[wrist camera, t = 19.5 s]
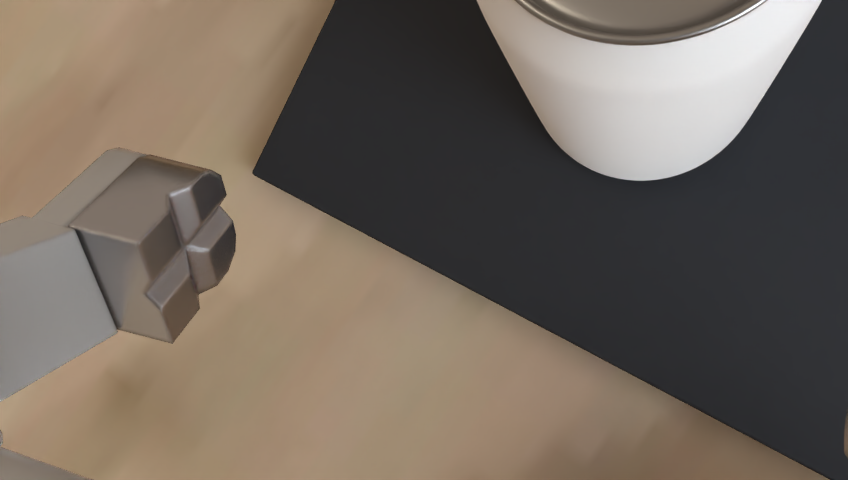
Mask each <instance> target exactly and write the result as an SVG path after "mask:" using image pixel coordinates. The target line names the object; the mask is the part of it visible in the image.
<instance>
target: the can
mask: <svg viewBox="0 0 848 480" xmlns="http://www.w3.org/2000/svg"><path fill="white" fill-rule="evenodd" d="M821 1H822V0H477V2H478V5H479V7H480V9H481V11H482V14H483V16H484V18H485V20H486V22H487V24H488V26H489V28H490V29H491V31H492V33H493V35H494V37H495V39H496V41H497V43H498V45H499V46H500V48H501V50H502V52H503V54H504V56H505V58H506V59H507V61H508V63H509V65H510V67H511V69H512V71H513V72H514V74H515V76H516V78H517V80H518V81H519V83H520V85H521V87H522V89H523V91H524V92H525V94H526V96H527V98H528V99H529V101H530V103H531V105H532V107H533V108H534V110H535V112H536V114H537V115H538V117H539V119H540V120H541V122H542V124H543V125H544V127H545V129H546V130H547V132H548V133H549V134H550V136H551V137H552V139H553V140H554V141H555V142H556V143H557V145H558V146H559V147H560V148H561V149H562V150H563V151H564V152H566V153H567V154H568V155H569V156H570V157H572V158H573V159H574V160H576V161H577V162H579V163H580V164H582V165H583V166H585V167H587V168H589V169H591V170H593V171H595V172H598V173H600V174H603V175H606V176H610V177H614V178H618V179H624V180H635V181H646V180H657V179H663V178H668V177H672V176H676V175H679V174H682V173H685V172H687V171H690V170H692V169H694V168H696V167H698V166H700V165H702V164H703V163H705V162H707V161H708V160H710V159H711V158H713V157H714V156H715V155H717V154H718V153H719V152H721V151H722V150H723V149H724V148H725V147H726V146H727V145H728V144H729V143H730V142H731V141H732V140H733V139H734V138H735V137H736V136H737V134H738V133H739V132H740V131H741V129H742V128H743V127H744V125H745V124H746V122H747V121H748V119H749V118H750V116H751V115H752V113H753V112H754V110H755V109H756V107H757V106H758V104H759V102H760V101H761V99H762V98H763V96H764V95H765V93H766V91H767V90H768V88H769V87H770V85H771V83H772V82H773V80H774V79H775V77H776V75H777V74H778V72H779V71H780V69H781V67H782V66H783V64H784V63H785V61H786V59H787V58H788V56H789V54H790V53H791V51H792V50H793V48H794V46H795V45H796V43H797V41H798V40H799V38H800V36H801V35H802V33H803V32H804V30H805V28H806V27H807V25H808V23H809V22H810V20H811V18H812V16H813V15H814V13H815V11H816V10H817V8H818V6H819V5H820V3H821Z"/></svg>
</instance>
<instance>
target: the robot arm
mask: <svg viewBox="0 0 848 480" xmlns="http://www.w3.org/2000/svg"><path fill="white" fill-rule="evenodd" d="M225 197H226V191H225V188H224V184H223V181H222V177H221V175H219V174H218V173H216V172H214V171H212V170H210V169H206V168H202V167H198V166H194V165H190V164H186V163H182V162H178V161H174V160H170V159H166V158H162V157H158V156H154V155H146V154H142V153H139V152H135V151H131V150H127V149H123V148H115V149H111V150H107V151H105V152H104V153H103V154H102V155H101V156H100V157H99V158H98V159H97V160H96V161H94V162H93V163H92V164H91V165H90V166H89V167H88V168H87V169H86V170H84V171H83V172H82V173H81V174H80V175H79V176H78V177H77V178H76V179H74V180H73V181H72V182H71V183H70V184H69V185H68V186H67V187H66V188H64V189H63V190H62V191H61V192H60V193H59V194H58V195H57V196H56V197H54V198H53V199H52V200H51V201H50V202H49V203H48V204H47V205H46V206H45V207H43V208H42V209H41V210H40V211H39V212H38V213H37V214H36V215H35V216H33V217H32V218H30V217H26V216H20V217H17V218H14V219H12V220H9V221H6V222H3V223H1V224H0V402H1V401H2V400H4V399H6V398H8V397H9V396H11V395H13V394H14V393H16V392H18V391H20V390H21V389H23V388H25V387H26V386H28V385H30V384H31V383H33V382H35V381H37V380H38V379H40V378H42V377H43V376H45V375H47V374H48V373H50V372H52V371H54V370H55V369H57V368H59V367H60V366H62V365H64V364H65V363H67V362H69V361H71V360H72V359H74V358H76V357H77V356H79V355H81V354H82V353H84V352H86V351H88V350H89V349H91V348H93V347H94V346H96V345H98V344H99V343H101V342H103V341H105V340H106V339H108V338H110V337H111V336H113V335H115V334H116V333H117V332H118V331H117V329H118V330H122V331H126V332H130V333H133V334H137V335H141V336H145V337H149V338H152V339H156V340H160V341H164V342H168V343H172V344H173V342H174V341H175V340H176V339H177V337H178V336H179V335H180V333H181V332H182V331H183V329H184V328H185V327H186V326H187V324H188V323H189V322H190V320H191V319H192V318H193V317H194V315H195V314H196V313H197V311H198V310H199V309H200V306H199V294H200V293H202V292H205V291H207V290H209V289H211V288H213V287H215V286H217V285H218V284H219V283H220V281H221V280H222V278H223V277H224V276H225V274H226V273H227V272H228V270H229V267H230V264H231V261H232V259H233V256H234V253H235V244H236V233H235V229H234V224H233V220H232V219H231V218H230V217H229V216H228V214H227V213H226V212H225V211H224V210H223V209H222V207H221V206H220V204H221V203H222V201H223V200H224V198H225ZM2 443H3V438H2V432H1V430H0V446H1V445H2ZM844 453H845V455H846V456H847V457H848V410H847V413H846V419H845V429H844ZM0 480H92V479H89V478H87V477H84V476H81V475H78V474H75V473H73V472H70V471H67V470H64V469H61V468H59V467H56V466H53V465H50V464H47V463H45V462H42V461H39V460H36V459H33V458H31V457H28V456H25V455H22V454H19V453H17V452H14V451H11V450H8V449H5V448H3V447H0Z"/></svg>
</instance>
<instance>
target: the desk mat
mask: <svg viewBox="0 0 848 480" xmlns="http://www.w3.org/2000/svg"><path fill="white" fill-rule="evenodd" d="M253 174H254V175H255V176H257V177H259V178H260V179H262V180H264V181H266V182H268V183H270V184H272V185H274V186H276V187H277V188H279V189H281V190H283V191H285V192H287V193H289V194H291V195H293V196H294V197H296V198H298V199H300V200H302V201H304V202H306V203H308V204H310V205H312V206H313V207H315V208H317V209H319V210H321V211H323V212H325V213H327V214H329V215H330V216H332V217H334V218H336V219H338V220H340V221H342V222H344V223H346V224H347V225H349V226H351V227H353V228H355V229H357V230H359V231H361V232H363V233H365V234H366V235H368V236H370V237H372V238H374V239H376V240H378V241H380V242H382V243H383V244H385V245H387V246H389V247H391V248H393V249H395V250H397V251H399V252H400V253H402V254H404V255H406V256H408V257H410V258H412V259H414V260H416V261H418V262H419V263H421V264H423V265H425V266H427V267H429V268H431V269H433V270H435V271H436V272H438V273H440V274H442V275H444V276H446V277H448V278H450V279H452V280H453V281H455V282H457V283H459V284H461V285H463V286H465V287H467V288H469V289H471V290H472V291H474V292H476V293H478V294H480V295H482V296H484V297H486V298H488V299H489V300H491V301H493V302H495V303H497V304H499V305H501V306H503V307H505V308H506V309H508V310H510V311H512V312H514V313H516V314H518V315H520V316H522V317H524V318H525V319H527V320H529V321H531V322H533V323H535V324H537V325H539V326H541V327H542V328H544V329H546V330H548V331H550V332H552V333H554V334H556V335H558V336H559V337H561V338H563V339H565V340H567V341H569V342H571V343H573V344H575V345H576V346H578V347H580V348H582V349H584V350H586V351H588V352H590V353H592V354H594V355H595V356H597V357H599V358H601V359H603V360H605V361H607V362H609V363H611V364H612V365H614V366H616V367H618V368H620V369H622V370H624V371H626V372H628V373H629V374H631V375H633V376H635V377H637V378H639V379H641V380H643V381H645V382H647V383H648V384H650V385H652V386H654V387H656V388H658V389H660V390H662V391H664V392H665V393H667V394H669V395H671V396H673V397H675V398H677V399H679V400H681V401H682V402H684V403H686V404H688V405H690V406H692V407H694V408H696V409H698V410H700V411H701V412H703V413H705V414H707V415H709V416H711V417H713V418H715V419H717V420H718V421H720V422H722V423H724V424H726V425H728V426H730V427H732V428H734V429H735V430H737V431H739V432H741V433H743V434H745V435H747V436H749V437H751V438H753V439H754V440H756V441H758V442H760V443H762V444H764V445H766V446H768V447H770V448H771V449H773V450H775V451H777V452H779V453H781V454H783V455H785V456H787V457H788V458H790V459H792V460H794V461H796V462H798V463H800V464H802V465H804V466H806V467H807V468H809V469H811V470H813V471H815V472H817V473H819V474H821V475H823V476H824V477H826V478H828V479H830V480H848V457H847V456H846V455H845V453H844V429H845V419H846V413H847V410H848V0H822V1H821V3H820V5H819V6H818V8H817V10H816V11H815V13H814V15H813V16H812V18H811V20H810V22H809V23H808V25H807V27H806V28H805V30H804V32H803V33H802V35H801V36H800V38H799V40H798V41H797V43H796V45H795V46H794V48H793V50H792V51H791V53H790V54H789V56H788V58H787V59H786V61H785V63H784V64H783V66H782V67H781V69H780V71H779V72H778V74H777V75H776V77H775V79H774V80H773V82H772V83H771V85H770V87H769V88H768V90H767V91H766V93H765V95H764V96H763V98H762V99H761V101H760V102H759V104H758V106H757V107H756V109H755V110H754V112H753V113H752V115H751V116H750V118H749V119H748V121H747V122H746V124H745V125H744V127H743V128H742V129H741V131H740V132H739V133H738V134H737V136H736V137H735V138H734V139H733V140H732V141H731V142H730V143H729V144H728V145H727V146H726V147H725V148H724V149H723V150H722V151H721V152H719V153H718V154H717V155H715V156H714V157H713V158H711V159H710V160H708V161H707V162H705V163H703V164H702V165H700V166H698V167H696V168H694V169H692V170H690V171H687V172H685V173H682V174H679V175H676V176H672V177H668V178H663V179H657V180H646V181H635V180H624V179H618V178H614V177H610V176H606V175H603V174H600V173H598V172H595V171H593V170H591V169H589V168H587V167H585V166H583V165H582V164H580V163H579V162H577V161H576V160H574V159H573V158H572V157H570V156H569V155H568V154H567V153H566V152H564V151H563V150H562V149H561V148H560V147H559V146H558V145H557V143H556V142H555V141H554V140H553V139H552V137H551V136H550V134H549V133H548V132H547V130H546V129H545V127H544V125H543V124H542V122H541V120H540V119H539V117H538V115H537V114H536V112H535V110H534V108H533V107H532V105H531V103H530V101H529V99H528V98H527V96H526V94H525V92H524V91H523V89H522V87H521V85H520V83H519V81H518V80H517V78H516V76H515V74H514V72H513V71H512V69H511V67H510V65H509V63H508V61H507V59H506V58H505V56H504V54H503V52H502V50H501V48H500V46H499V45H498V43H497V41H496V39H495V37H494V35H493V33H492V31H491V29H490V28H489V26H488V24H487V22H486V20H485V18H484V16H483V14H482V11H481V9H480V7H479V5H478V2H477V0H336V1H335V3H334V5H333V7H332V9H331V11H330V13H329V15H328V17H327V19H326V21H325V23H324V26H323V28H322V30H321V32H320V34H319V36H318V38H317V40H316V42H315V44H314V46H313V48H312V50H311V52H310V54H309V56H308V59H307V61H306V63H305V65H304V67H303V69H302V71H301V73H300V75H299V77H298V79H297V81H296V83H295V85H294V87H293V89H292V92H291V94H290V96H289V98H288V100H287V102H286V104H285V106H284V108H283V110H282V112H281V114H280V116H279V118H278V120H277V122H276V125H275V127H274V129H273V131H272V133H271V135H270V137H269V139H268V141H267V143H266V145H265V147H264V149H263V151H262V153H261V155H260V158H259V160H258V162H257V164H256V166H255V168H254V170H253Z"/></svg>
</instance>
